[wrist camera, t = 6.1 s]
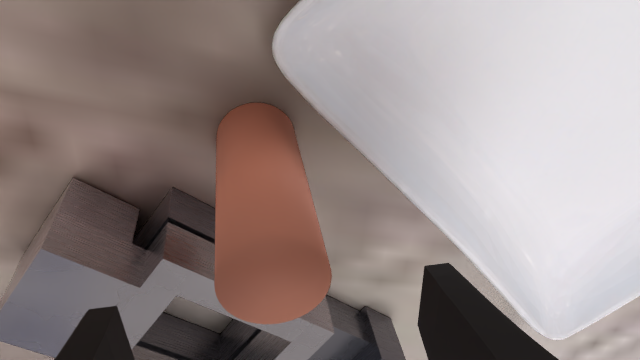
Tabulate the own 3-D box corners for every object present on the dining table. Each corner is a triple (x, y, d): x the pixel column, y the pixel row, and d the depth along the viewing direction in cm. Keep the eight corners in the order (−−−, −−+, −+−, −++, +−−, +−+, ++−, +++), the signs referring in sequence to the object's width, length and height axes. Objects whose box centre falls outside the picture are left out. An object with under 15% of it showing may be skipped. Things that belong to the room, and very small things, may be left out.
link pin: (296, 167, 21) (331, 316, 14) (221, 175, 21) (222, 331, 14) (292, 99, 19) (331, 229, 13) (211, 106, 19) (206, 244, 12)
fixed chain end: (405, 305, 26) (425, 356, 24) (315, 388, 29) (325, 443, 26) (172, 187, 20) (165, 237, 18) (85, 304, 23) (67, 364, 20)
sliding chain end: (317, 262, 24) (334, 333, 20) (227, 359, 26) (228, 436, 23) (91, 148, 19) (62, 215, 15) (7, 279, 21) (-34, 362, 18)
